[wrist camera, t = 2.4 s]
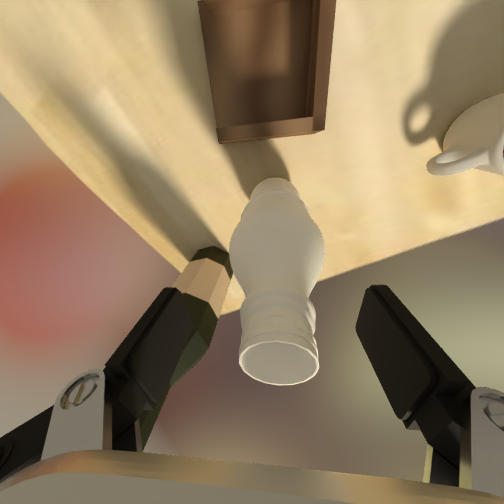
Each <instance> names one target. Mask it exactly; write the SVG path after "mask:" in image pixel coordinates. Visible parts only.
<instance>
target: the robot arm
mask: <svg viewBox="0 0 504 504" xmlns="http://www.w3.org/2000/svg"><path fill="white" fill-rule="evenodd" d="M192 328H193V324H192V321H191V318H190V315H189V313H188V310H187V307H186V304H185V302H184V299H183V296H182V293H181V291H180V290H178V289H177V288H176V287H169V288H168V287H166V288H164V289H163V290H162V291H161V292H160V294H159V295H158V296H157V298H156V299H155V300H154V302H153V303H152V304H151V306H150V307H149V308H148V309H147V311H146V312H145V313H144V315H143V316H142V317H141V319H140V320H139V321H138V322H137V324H136V325H135V326H134V328H133V329H132V330H131V331H130V333H129V334H128V335H127V337H126V338H125V339H124V341H123V342H122V343H121V344H120V346H119V347H118V348H117V350H116V351H115V352H114V354H113V355H112V356H111V358H110V359H109V360H108V361H107V363H106V364H105V366H106V367H105V368H104V370H103V371H102V370H100V369H93V370H89V371H87V372H84V373H82V374H81V375H79V376H78V377H76V378H75V379H74V380H72V381H71V382H70V383H69V384H68V385H67V386H66V387H65V388H64V389H63V390H62V391H61V393H60V394H59V396H58V397H57V399H56V402H55V404H54V405H53V406H51V407H50V408H48V409H47V410H45V411H44V412H42V413H40V414H38V415H37V416H35V417H34V418H32V419H30V420H29V421H27V422H25V423H24V424H22V425H20V426H19V427H17V428H15V429H14V430H12V431H11V432H9V433H7V434H6V435H4V436H2V437H1V438H0V504H504V393H502V392H500V391H498V390H495V389H491V388H487V387H477V388H476V387H475V386H474V385H473V384H472V383H471V381H470V380H469V379H468V378H467V377H466V376H465V375H464V373H463V372H462V371H461V370H460V369H459V368H458V367H457V365H456V364H455V363H454V362H453V361H452V360H451V358H450V357H449V356H448V355H447V354H446V353H445V352H444V350H443V349H442V348H441V347H440V346H439V345H438V343H437V342H436V341H435V340H434V339H433V338H432V337H431V335H430V334H429V333H428V332H427V331H426V330H425V329H424V328H423V326H422V325H421V324H420V323H419V322H418V321H417V319H416V318H415V317H414V316H413V315H412V314H411V313H410V311H409V310H408V309H407V308H406V307H405V306H404V304H402V302H401V301H400V300H399V299H398V297H397V296H396V295H395V294H394V293H393V292H392V291H391V290H390V288H389V287H388V286H386V285H371V286H370V287H369V288H367V289H366V291H365V295H364V298H363V302H362V305H361V309H360V312H359V316H358V320H357V323H356V332H357V335H358V337H359V339H360V341H361V343H362V345H363V348H364V350H365V352H366V354H367V355H368V358H369V360H370V362H371V364H372V366H373V368H374V371H375V373H376V375H377V377H378V379H379V381H380V383H381V385H382V387H383V390H384V391H385V393H386V396H387V398H388V400H389V402H390V404H391V406H392V408H393V410H394V412H395V414H396V416H397V417H398V418H399V419H401V420H402V421H403V423H404V425H405V427H406V429H409V430H421V432H422V433H423V435H424V437H425V439H426V441H427V443H428V446H427V454H426V461H425V462H426V463H425V469H424V477H423V482H417V481H409V480H401V479H394V478H385V477H376V476H366V475H358V474H348V473H339V472H330V471H321V470H311V469H303V468H292V467H283V466H274V465H264V464H255V463H245V462H236V461H225V460H216V459H206V458H196V457H186V456H176V455H166V454H156V453H145V452H142V443H141V433H140V424H139V416H140V414H141V412H142V410H155V408H156V406H157V403H159V402H160V401H161V400H162V398H163V396H164V394H165V392H166V390H167V387H168V385H169V383H170V380H171V378H172V376H173V373H174V371H175V369H176V366H177V364H178V362H179V359H180V357H181V355H182V352H183V350H184V348H185V346H186V343H187V341H188V339H189V336H190V334H191V332H192Z"/></svg>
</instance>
